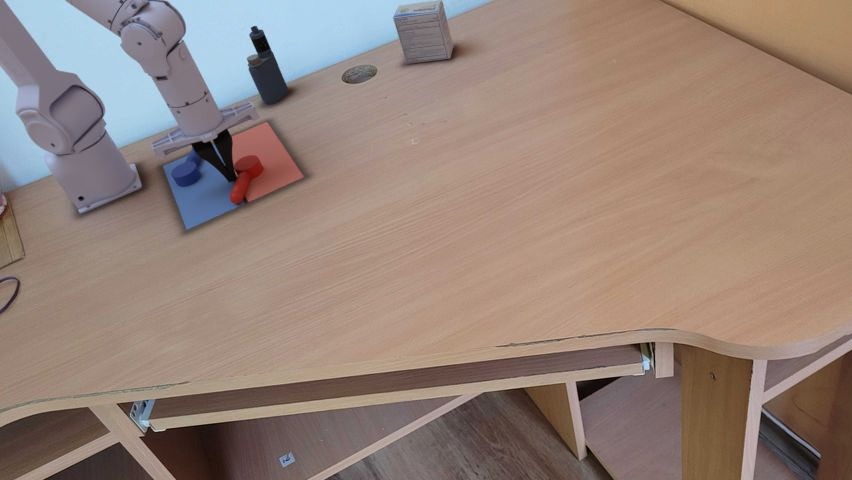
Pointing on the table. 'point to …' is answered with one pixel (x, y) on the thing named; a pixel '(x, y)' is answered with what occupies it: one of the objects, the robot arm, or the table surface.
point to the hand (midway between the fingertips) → (231, 178)
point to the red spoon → (245, 176)
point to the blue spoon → (187, 171)
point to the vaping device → (265, 69)
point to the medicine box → (423, 31)
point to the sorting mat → (215, 190)
